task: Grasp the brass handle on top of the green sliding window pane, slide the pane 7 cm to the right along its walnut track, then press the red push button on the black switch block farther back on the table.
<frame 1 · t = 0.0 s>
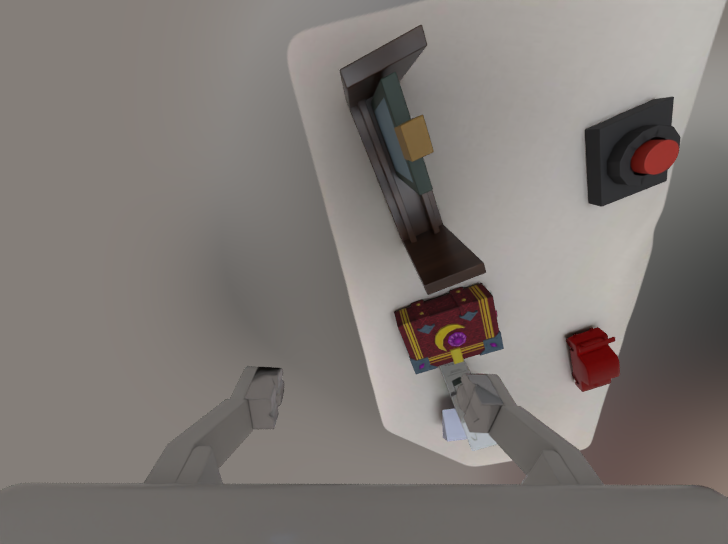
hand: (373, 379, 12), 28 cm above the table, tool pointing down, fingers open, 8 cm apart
red push button: (653, 157, 30), point 4 cm above the table, slide at 0.1 cm
decorative book: (446, 318, 45), on the table
wedge on round base: (467, 404, 56), on the table
ink box: (455, 374, 52), on the table
switch block: (618, 155, 34), on the table
window pane: (399, 139, 24), point 9 cm above the table, slide at 0.0 cm
toy car: (581, 352, 50), on the table
window frame: (399, 171, 34), on the table
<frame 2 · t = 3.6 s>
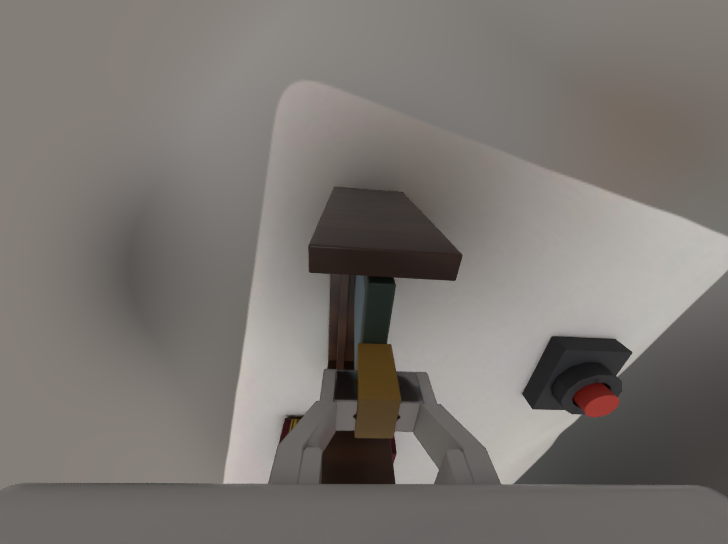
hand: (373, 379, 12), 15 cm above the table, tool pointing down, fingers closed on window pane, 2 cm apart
red push button: (595, 399, 29), point 4 cm above the table, slide at 0.1 cm
decorative book: (340, 440, 39), on the table
switch block: (566, 368, 33), on the table
window pane: (367, 307, 17), point 9 cm above the table, slide at 0.0 cm, touching gripper
window frame: (360, 289, 27), on the table
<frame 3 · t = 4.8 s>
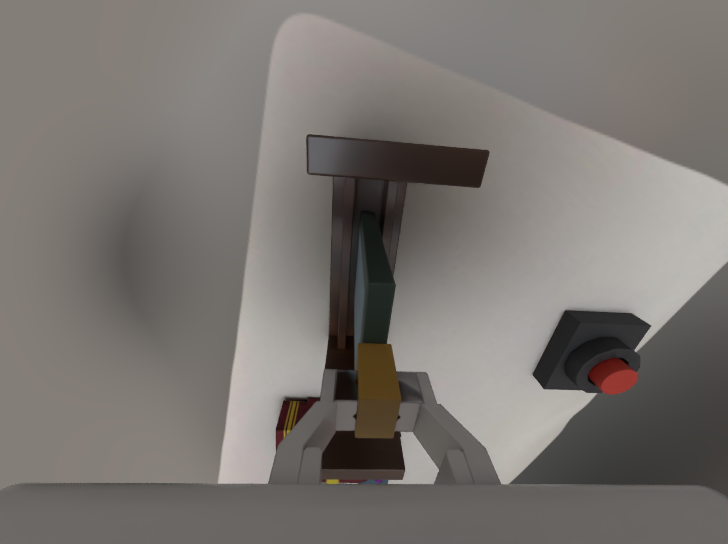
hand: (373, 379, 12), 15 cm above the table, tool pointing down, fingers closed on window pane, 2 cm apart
red push button: (612, 375, 28), point 4 cm above the table, slide at 0.1 cm
decorative book: (341, 424, 37), on the table
switch block: (579, 346, 32), on the table
window pane: (367, 307, 17), point 9 cm above the table, slide at 3.7 cm, touching gripper
window frame: (362, 256, 25), on the table
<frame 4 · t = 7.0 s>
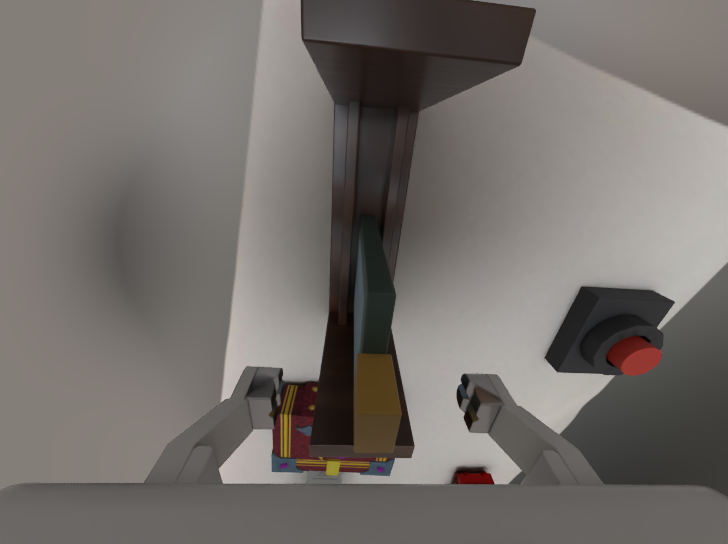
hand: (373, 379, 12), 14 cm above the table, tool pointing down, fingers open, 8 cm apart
red push button: (632, 355, 26), point 4 cm above the table, slide at 0.1 cm
decorative book: (342, 411, 35), on the table
ink box: (325, 469, 41), on the table
switch block: (595, 326, 30), on the table
window pane: (367, 313, 17), point 9 cm above the table, slide at 7.2 cm
toy car: (462, 486, 45), on the table
window frame: (365, 224, 23), on the table
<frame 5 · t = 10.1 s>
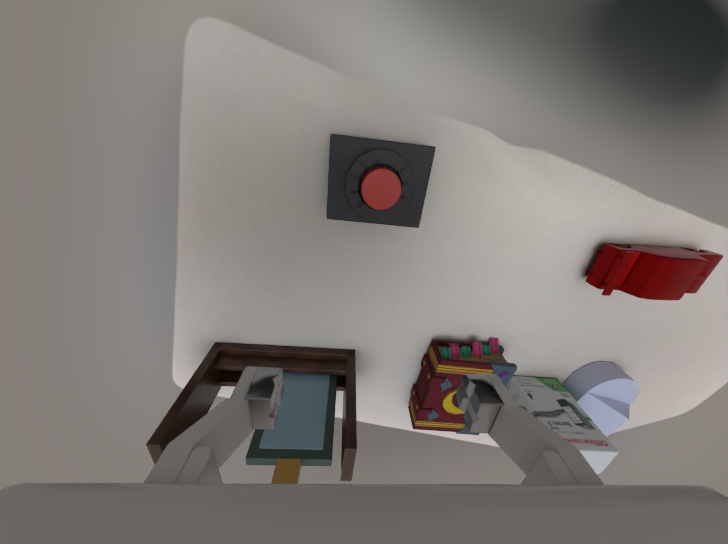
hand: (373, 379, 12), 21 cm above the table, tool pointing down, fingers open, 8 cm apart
red push button: (380, 188, 24), point 4 cm above the table, slide at 0.1 cm
decorative book: (451, 373, 42), on the table
wedge on round base: (582, 388, 45), on the table
ink box: (527, 385, 44), on the table
switch block: (376, 181, 28), on the table
window pane: (297, 419, 31), point 9 cm above the table, slide at 7.2 cm
toy car: (634, 262, 34), on the table
window frame: (287, 361, 39), on the table
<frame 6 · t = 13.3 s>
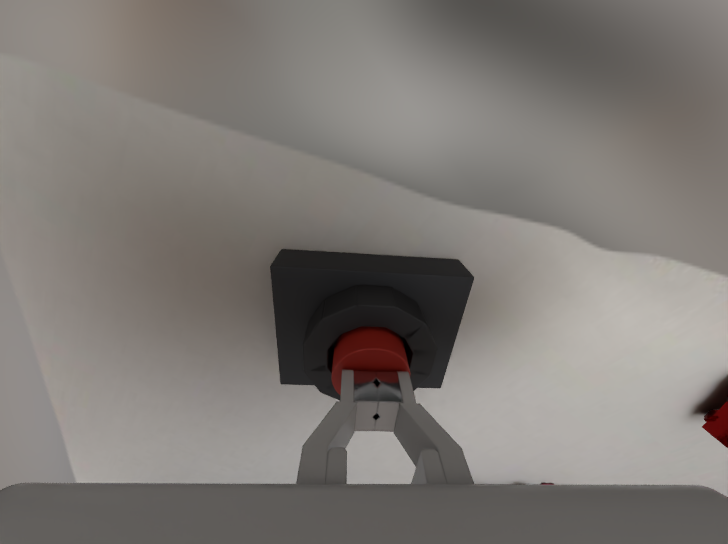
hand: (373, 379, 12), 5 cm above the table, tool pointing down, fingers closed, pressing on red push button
red push button: (370, 364, 13), point 4 cm above the table, slide at -0.2 cm, touching gripper
switch block: (366, 312, 16), on the table
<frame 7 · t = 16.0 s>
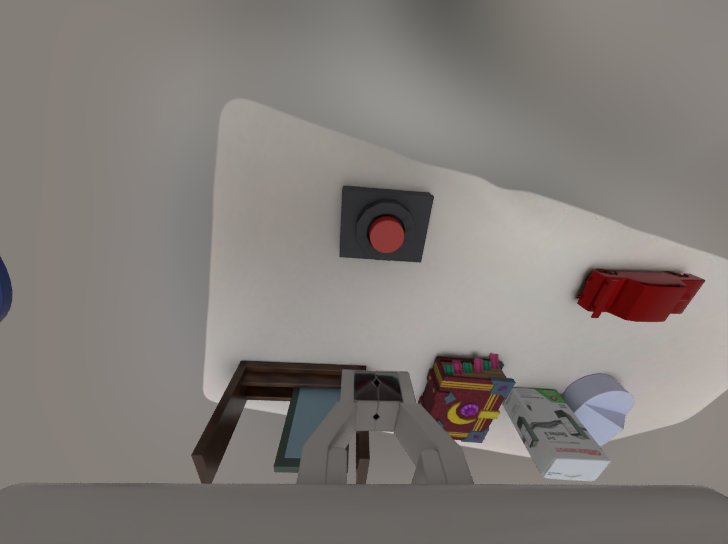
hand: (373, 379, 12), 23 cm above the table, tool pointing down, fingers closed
red push button: (386, 234, 28), point 4 cm above the table, slide at 0.1 cm
decorative book: (455, 385, 46), on the table
wedge on round base: (580, 398, 48), on the table
ink box: (528, 396, 47), on the table
switch block: (382, 222, 32), on the table
window pane: (316, 431, 35), point 9 cm above the table, slide at 7.2 cm
toy car: (623, 284, 37), on the table
window frame: (304, 376, 43), on the table
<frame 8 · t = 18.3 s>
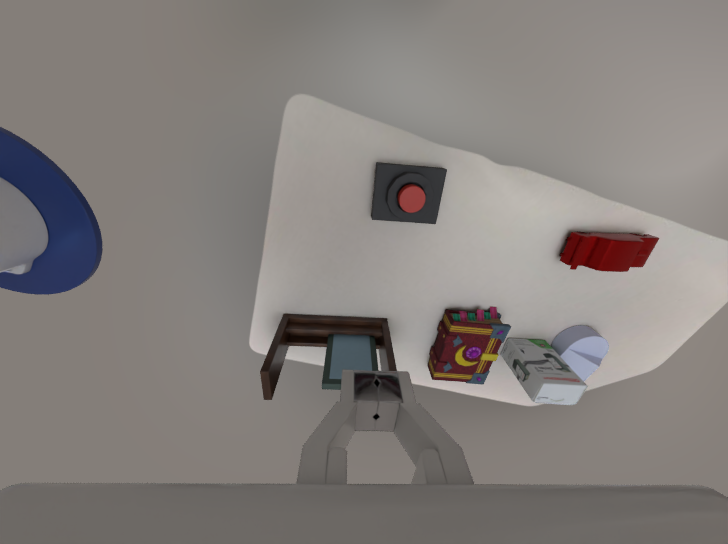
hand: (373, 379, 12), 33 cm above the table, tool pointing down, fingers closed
red push button: (411, 198, 36), point 4 cm above the table, slide at 0.1 cm
decorative book: (461, 336, 54), on the table
wedge on round base: (565, 348, 57), on the table
ink box: (521, 346, 56), on the table
switch block: (405, 192, 40), on the table
window pane: (351, 363, 44), point 9 cm above the table, slide at 7.2 cm
toy car: (596, 245, 46), on the table
window frame: (335, 328, 52), on the table
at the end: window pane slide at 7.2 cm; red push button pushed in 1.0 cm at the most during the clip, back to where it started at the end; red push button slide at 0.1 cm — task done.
